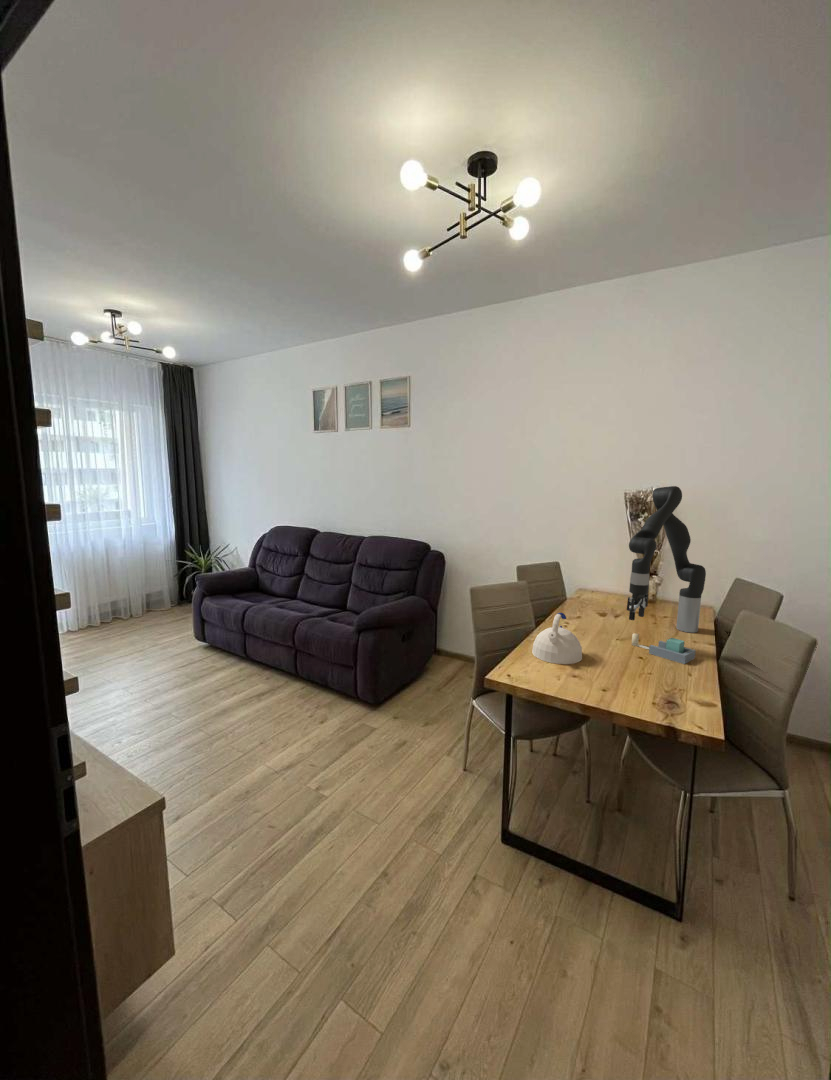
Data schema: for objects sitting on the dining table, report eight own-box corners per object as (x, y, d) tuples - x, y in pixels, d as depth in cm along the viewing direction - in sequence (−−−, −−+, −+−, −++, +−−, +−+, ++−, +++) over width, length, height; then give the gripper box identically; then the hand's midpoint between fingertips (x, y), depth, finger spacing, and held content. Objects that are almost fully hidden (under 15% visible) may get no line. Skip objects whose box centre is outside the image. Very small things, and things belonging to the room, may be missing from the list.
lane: (659, 648, 197) (660, 640, 196) (694, 658, 186) (695, 650, 185) (648, 653, 190) (649, 645, 190) (684, 664, 180) (685, 655, 179)
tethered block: (634, 643, 203) (635, 628, 202) (683, 657, 187) (684, 641, 186) (629, 645, 200) (630, 630, 199) (678, 659, 184) (679, 643, 183)
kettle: (525, 658, 185) (527, 615, 182) (539, 642, 202) (541, 604, 200) (576, 669, 174) (578, 624, 172) (586, 652, 192) (589, 611, 189)
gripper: (638, 579, 204) (635, 613, 206) (622, 583, 195) (620, 619, 197) (655, 582, 198) (652, 617, 200) (640, 586, 189) (637, 623, 191)
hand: (636, 618), depth 199 cm, fingers open, 8 cm apart
